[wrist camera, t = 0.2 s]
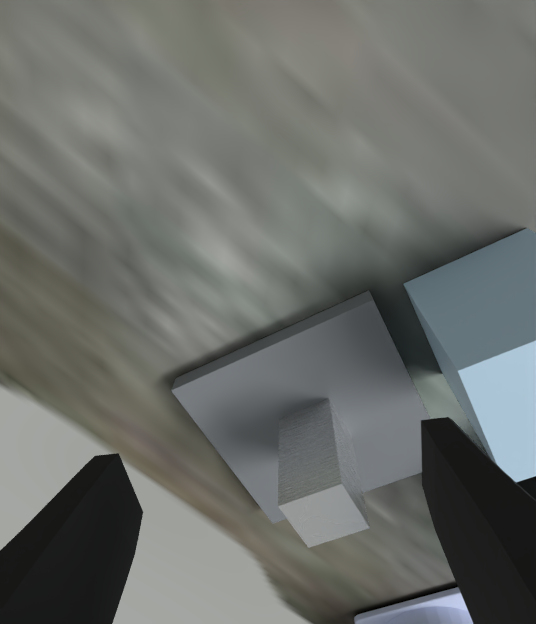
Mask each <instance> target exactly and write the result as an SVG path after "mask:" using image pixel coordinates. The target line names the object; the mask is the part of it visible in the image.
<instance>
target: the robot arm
mask: <svg viewBox="0 0 536 624" xmlns="http://www.w3.org/2000/svg"><path fill="white" fill-rule="evenodd" d="M421 450H422V486H423V489H424V493H425V496H426V500H427V504H428V507H429V511H430V514H431V517H432V521H433V524H434V527H435V531H436V533H437V536H438V538H439V541H440V543H441V546H442V548H443V551H444V553H445V556H446V558H447V560H448V563H449V565H450V568H451V570H452V573H453V575H454V578H455V580H456V583H457V585H458V587H456V588H453V589H449V590H445V591H442V592H438V593H434V594H431V595H427V596H423V597H420V598H416V599H412V600H409V601H405V602H401V603H398V604H394V605H390V606H387V607H383V608H379V609H376V610H372V611H368V612H365V613H361V614H358V615H356V616H355V617H354V622H355V624H536V500H535V499H534V498H533V497H532V496H531V495H529V494H528V493H527V492H526V491H525V490H524V489H523V488H522V487H521V486H519V485H518V484H517V483H516V482H515V481H514V480H513V479H512V478H511V477H510V476H508V475H507V474H506V473H505V472H504V471H503V470H502V469H501V468H500V467H499V466H498V465H497V464H496V463H495V462H494V461H492V460H491V459H490V458H489V457H488V456H487V455H486V454H485V453H484V452H483V451H482V450H481V449H480V448H479V447H478V446H477V445H476V444H475V443H474V442H473V441H472V440H471V439H470V438H469V437H468V436H467V435H466V434H465V433H464V432H463V430H462V429H461V428H460V427H459V426H458V425H457V424H456V423H455V422H454V421H453V420H451V419H450V418H449V417H446V418H437V419H428V420H421ZM142 514H143V511H142V508H141V506H140V504H139V501H138V499H137V496H136V494H135V492H134V489H133V487H132V484H131V482H130V480H129V477H128V475H127V472H126V470H125V468H124V465H123V463H122V460H121V458H120V456H119V453H118V454H109V455H99V456H94V457H93V459H91V460H90V461H89V462H88V463H87V464H86V465H85V466H84V467H83V468H82V469H81V470H80V471H79V472H78V473H77V474H76V475H75V476H74V477H73V478H72V479H71V480H70V481H69V482H68V483H67V484H66V485H65V486H64V488H63V489H62V490H61V491H60V492H59V493H58V494H57V495H56V496H55V497H54V498H53V499H52V500H51V501H50V502H49V503H48V504H47V505H46V506H45V507H44V508H43V509H42V510H41V511H40V512H39V513H38V514H37V515H36V516H35V517H34V518H33V519H32V520H31V521H30V522H29V523H28V524H27V525H26V526H25V527H24V528H23V530H21V531H20V532H19V533H18V534H17V535H16V536H15V537H14V538H13V539H12V540H11V541H10V542H9V543H8V544H7V545H6V546H5V547H4V548H3V549H2V550H0V624H112V623H113V619H114V617H115V614H116V611H117V608H118V604H119V601H120V599H121V595H122V593H123V589H124V586H125V583H126V580H127V577H128V574H129V571H130V568H131V564H132V561H133V558H134V555H135V550H136V545H137V541H138V536H139V531H140V526H141V520H142Z"/></svg>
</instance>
